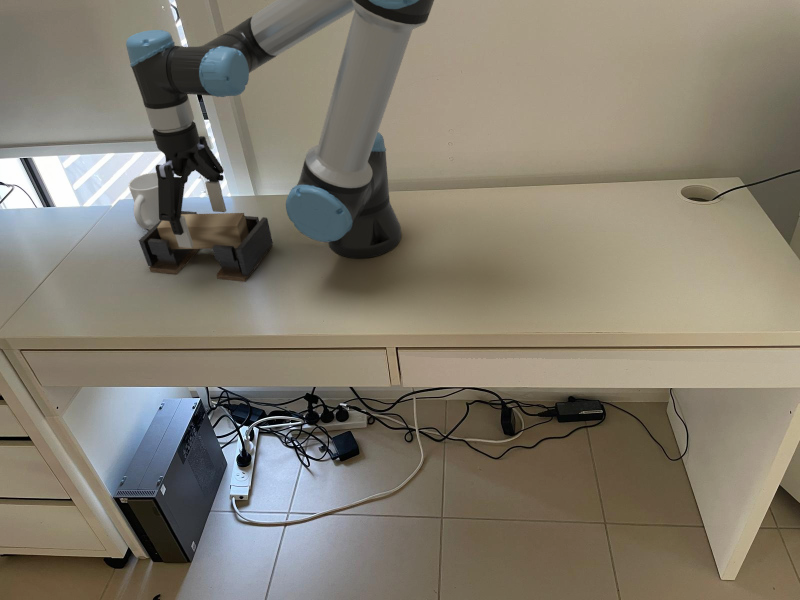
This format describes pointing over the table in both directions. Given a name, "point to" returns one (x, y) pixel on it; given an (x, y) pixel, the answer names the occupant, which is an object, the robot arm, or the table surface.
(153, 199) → the mug
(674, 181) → the table surface
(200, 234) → the rail
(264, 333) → the table surface
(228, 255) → the brackets
